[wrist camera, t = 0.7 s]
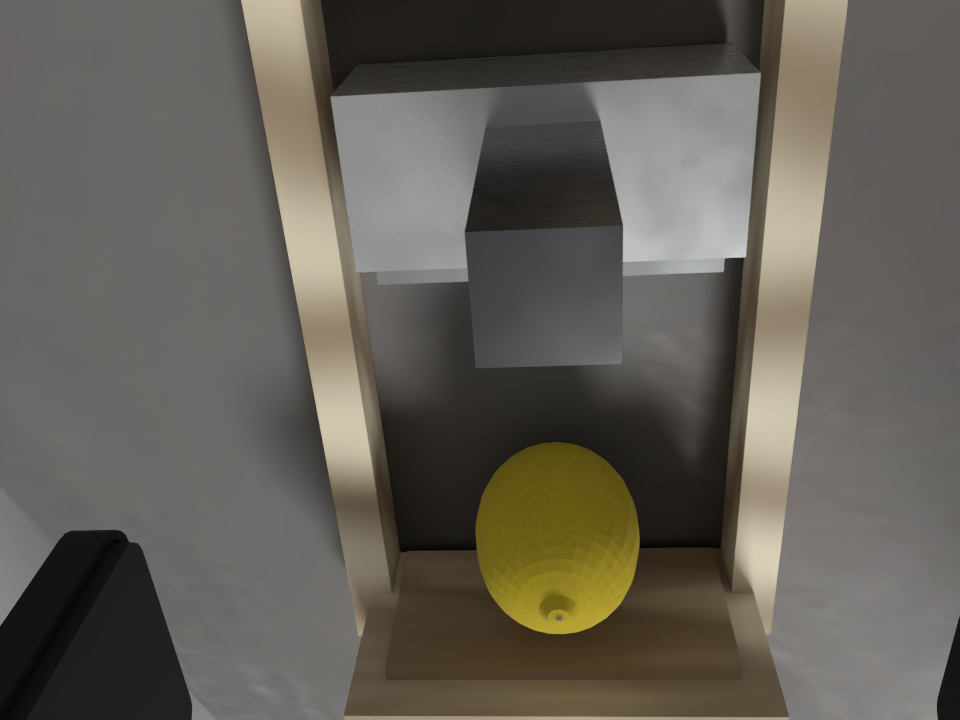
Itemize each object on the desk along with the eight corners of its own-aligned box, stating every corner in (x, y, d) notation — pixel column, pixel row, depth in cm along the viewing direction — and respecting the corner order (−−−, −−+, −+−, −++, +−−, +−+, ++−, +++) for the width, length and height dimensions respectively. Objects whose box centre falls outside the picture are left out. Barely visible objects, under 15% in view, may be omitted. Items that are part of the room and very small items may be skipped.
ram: (720, 225, 29) (814, 425, 19) (380, 239, 30) (299, 436, 20) (731, 43, 26) (849, 163, 16) (357, 64, 27) (250, 191, 17)
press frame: (756, 593, 37) (806, 766, 30) (369, 596, 38) (330, 762, 31) (837, -142, 24) (957, -137, 17) (250, -98, 25) (140, -77, 18)
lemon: (652, 489, 35) (680, 650, 28) (524, 538, 36) (519, 702, 29) (589, 378, 32) (602, 523, 25) (455, 436, 34) (433, 587, 27)
